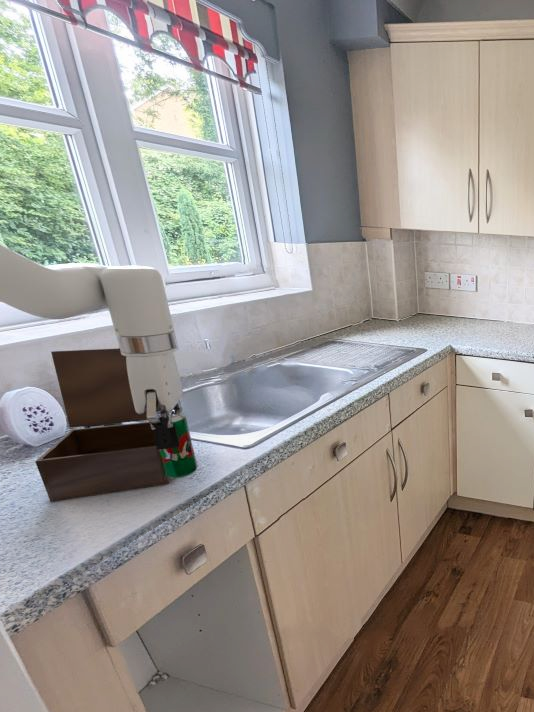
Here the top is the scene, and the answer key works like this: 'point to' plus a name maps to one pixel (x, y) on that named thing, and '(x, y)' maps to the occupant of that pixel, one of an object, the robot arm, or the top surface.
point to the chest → (101, 462)
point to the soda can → (179, 450)
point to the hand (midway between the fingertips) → (173, 440)
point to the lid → (95, 387)
